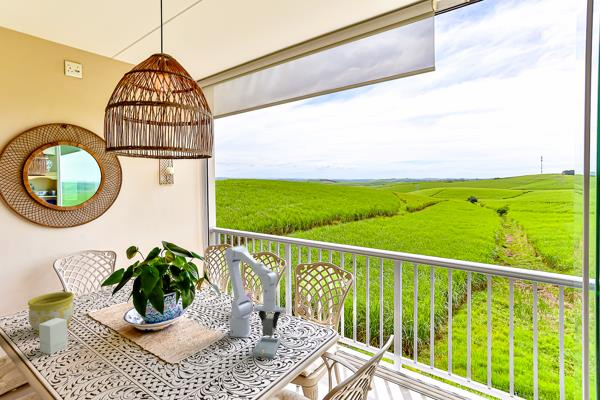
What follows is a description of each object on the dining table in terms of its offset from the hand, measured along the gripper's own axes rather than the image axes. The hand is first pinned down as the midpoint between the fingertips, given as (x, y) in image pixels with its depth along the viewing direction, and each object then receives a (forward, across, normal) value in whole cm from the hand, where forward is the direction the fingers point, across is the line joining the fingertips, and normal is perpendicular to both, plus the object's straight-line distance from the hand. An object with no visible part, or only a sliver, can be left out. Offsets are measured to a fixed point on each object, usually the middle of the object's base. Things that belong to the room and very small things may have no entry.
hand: (269, 327), depth 135 cm
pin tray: (+9, -1, -3) cm, 9 cm away
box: (+9, -24, +33) cm, 42 cm away
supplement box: (+9, -96, -18) cm, 98 cm away
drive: (+2, 0, 0) cm, 2 cm away
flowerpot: (+9, -115, -2) cm, 115 cm away
